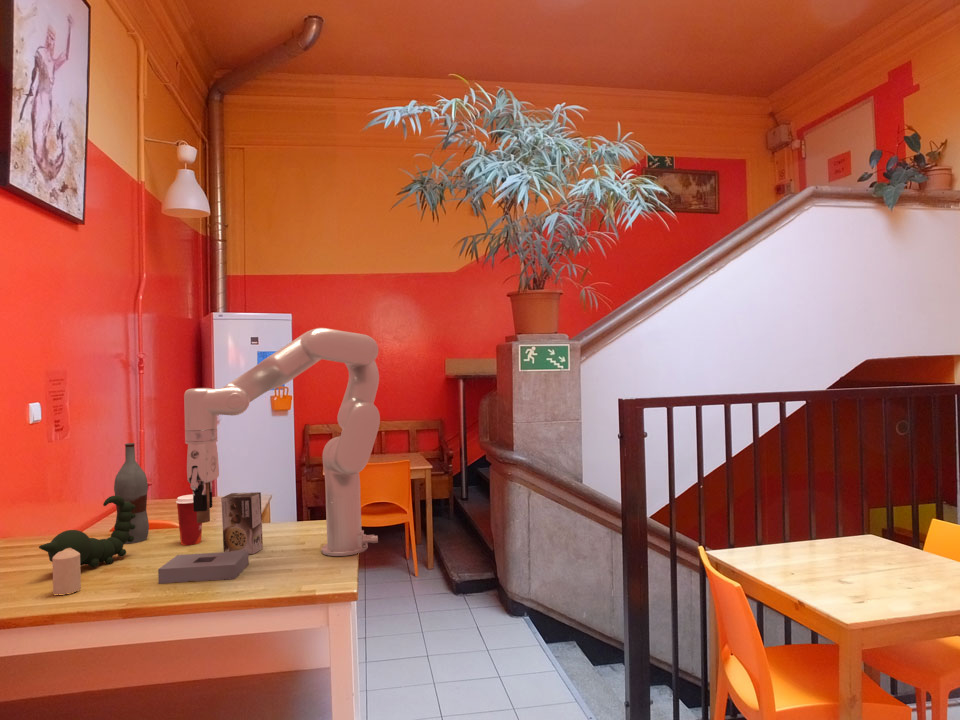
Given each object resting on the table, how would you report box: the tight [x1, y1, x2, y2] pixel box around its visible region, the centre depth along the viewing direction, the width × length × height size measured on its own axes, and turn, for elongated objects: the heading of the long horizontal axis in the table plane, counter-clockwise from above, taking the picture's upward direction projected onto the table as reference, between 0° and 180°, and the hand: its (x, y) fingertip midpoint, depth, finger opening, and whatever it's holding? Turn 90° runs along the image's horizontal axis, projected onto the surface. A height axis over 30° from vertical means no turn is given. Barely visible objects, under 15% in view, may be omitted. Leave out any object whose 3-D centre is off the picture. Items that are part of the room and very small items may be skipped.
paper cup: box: [175, 493, 203, 547], centre depth 192 cm, size 8×8×14 cm
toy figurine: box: [38, 494, 136, 569], centre depth 170 cm, size 9×19×25 cm
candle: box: [51, 548, 82, 595], centre depth 151 cm, size 6×6×10 cm
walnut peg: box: [197, 481, 211, 524], centre depth 161 cm, size 3×3×10 cm
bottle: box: [113, 442, 150, 545], centre depth 197 cm, size 9×9×30 cm
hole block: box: [157, 551, 250, 584], centre depth 161 cm, size 18×12×4 cm, turn 95°
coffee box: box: [220, 491, 264, 555], centre depth 180 cm, size 9×6×16 cm
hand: (203, 508), depth 161 cm, fingers closed on walnut peg, 3 cm apart
